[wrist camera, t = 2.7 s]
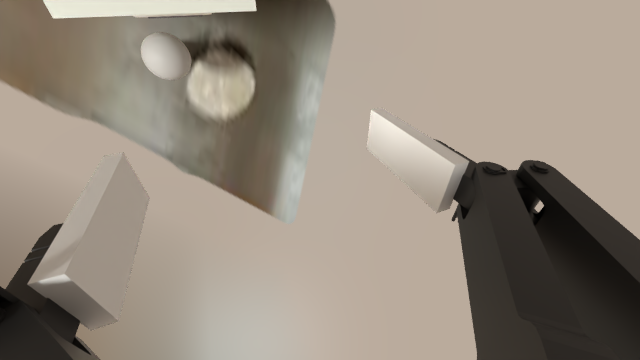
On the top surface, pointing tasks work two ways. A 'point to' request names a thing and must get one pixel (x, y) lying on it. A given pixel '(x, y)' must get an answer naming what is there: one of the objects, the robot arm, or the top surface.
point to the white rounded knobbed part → (166, 56)
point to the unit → (145, 8)
